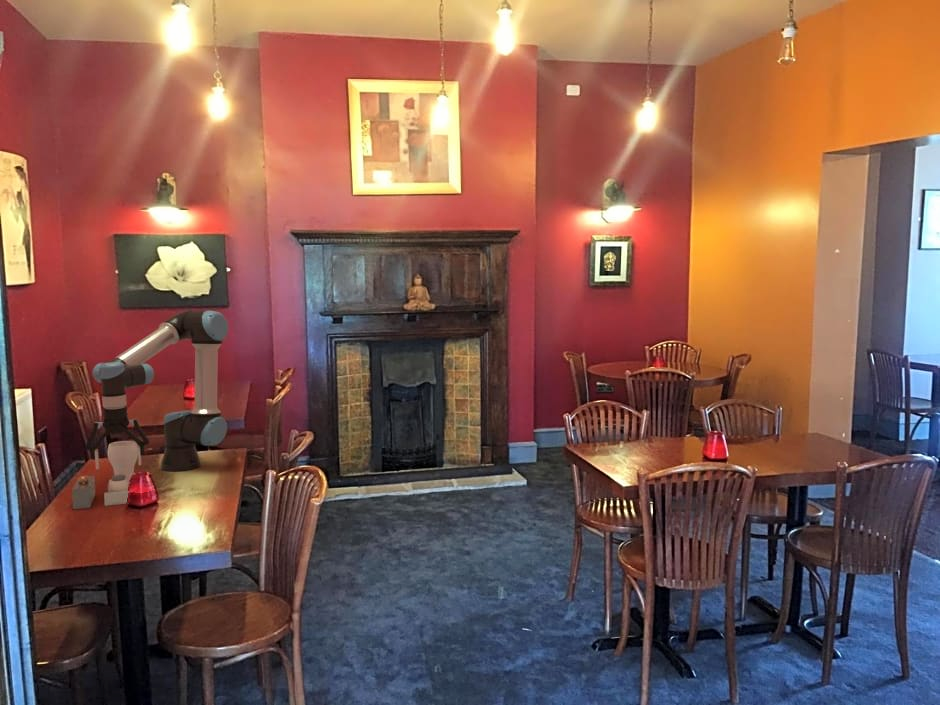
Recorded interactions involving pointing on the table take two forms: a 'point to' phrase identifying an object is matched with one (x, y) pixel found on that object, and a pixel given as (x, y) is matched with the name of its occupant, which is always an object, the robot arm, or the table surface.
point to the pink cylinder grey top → (118, 483)
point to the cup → (123, 457)
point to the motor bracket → (86, 493)
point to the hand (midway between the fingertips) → (119, 466)
